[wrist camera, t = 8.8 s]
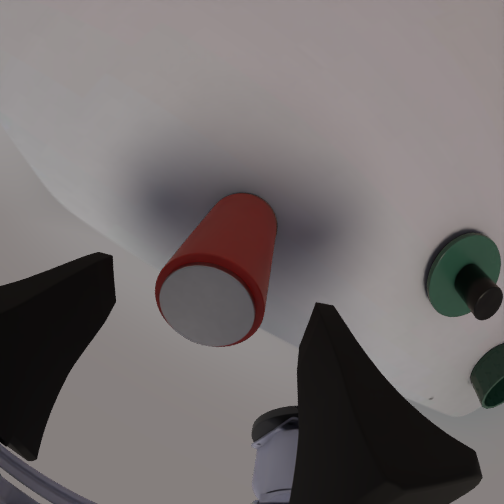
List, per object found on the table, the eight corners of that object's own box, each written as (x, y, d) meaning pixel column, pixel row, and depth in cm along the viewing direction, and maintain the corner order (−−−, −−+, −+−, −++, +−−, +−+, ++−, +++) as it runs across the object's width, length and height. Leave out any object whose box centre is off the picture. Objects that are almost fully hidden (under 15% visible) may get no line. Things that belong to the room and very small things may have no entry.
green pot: (483, 389, 22) (493, 412, 19) (461, 376, 21) (473, 402, 18) (520, 353, 20) (534, 374, 17) (503, 335, 19) (519, 359, 16)
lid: (454, 320, 19) (476, 356, 15) (406, 284, 18) (428, 322, 14) (505, 259, 16) (535, 287, 12) (463, 210, 16) (498, 235, 12)
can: (254, 268, 19) (229, 367, 11) (197, 235, 18) (138, 317, 11) (289, 216, 17) (287, 298, 9) (229, 180, 16) (176, 233, 9)
